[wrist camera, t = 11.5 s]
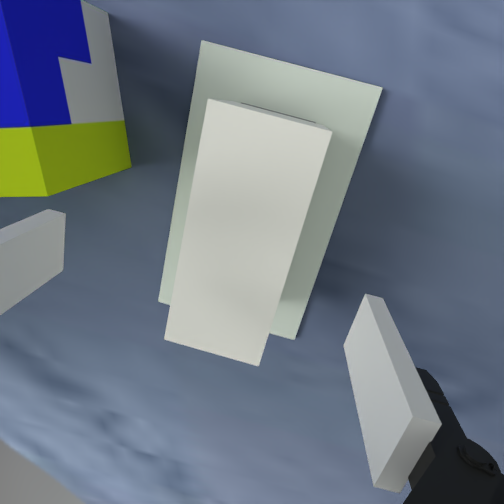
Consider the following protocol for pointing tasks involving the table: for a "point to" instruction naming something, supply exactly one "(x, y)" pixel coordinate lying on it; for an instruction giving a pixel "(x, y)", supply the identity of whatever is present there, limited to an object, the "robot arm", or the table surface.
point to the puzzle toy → (57, 98)
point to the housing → (242, 226)
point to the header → (291, 104)
